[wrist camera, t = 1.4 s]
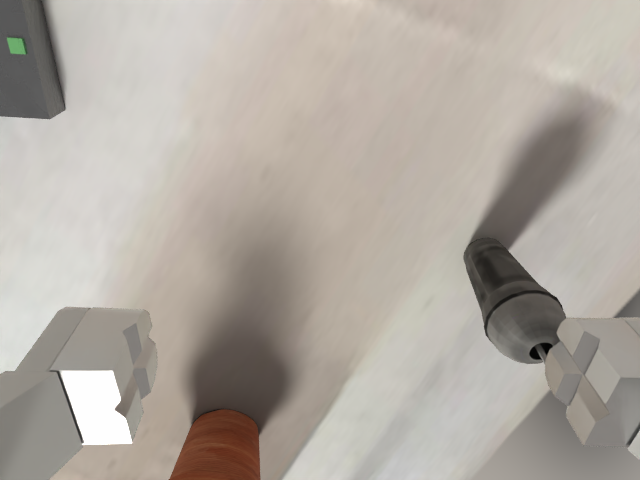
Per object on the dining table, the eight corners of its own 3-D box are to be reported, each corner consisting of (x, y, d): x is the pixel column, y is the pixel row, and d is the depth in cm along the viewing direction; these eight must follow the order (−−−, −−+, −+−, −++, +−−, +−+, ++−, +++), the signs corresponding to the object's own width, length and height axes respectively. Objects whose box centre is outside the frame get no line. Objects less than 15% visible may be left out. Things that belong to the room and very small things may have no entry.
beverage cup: (504, 216, 50) (606, 347, 33) (522, 264, 53) (623, 405, 36) (442, 244, 52) (508, 382, 35) (463, 289, 55) (533, 434, 38)
